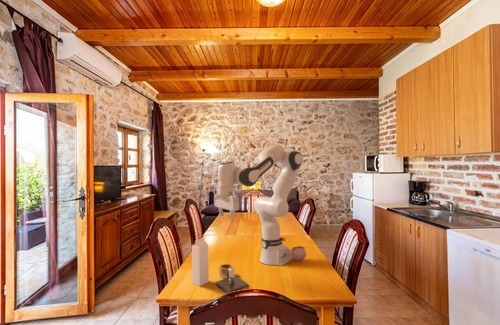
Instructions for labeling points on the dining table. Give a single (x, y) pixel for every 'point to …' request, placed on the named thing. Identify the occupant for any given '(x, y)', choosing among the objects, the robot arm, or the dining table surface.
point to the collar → (225, 270)
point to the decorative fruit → (298, 253)
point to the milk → (200, 263)
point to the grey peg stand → (231, 282)
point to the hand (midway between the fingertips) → (226, 217)
